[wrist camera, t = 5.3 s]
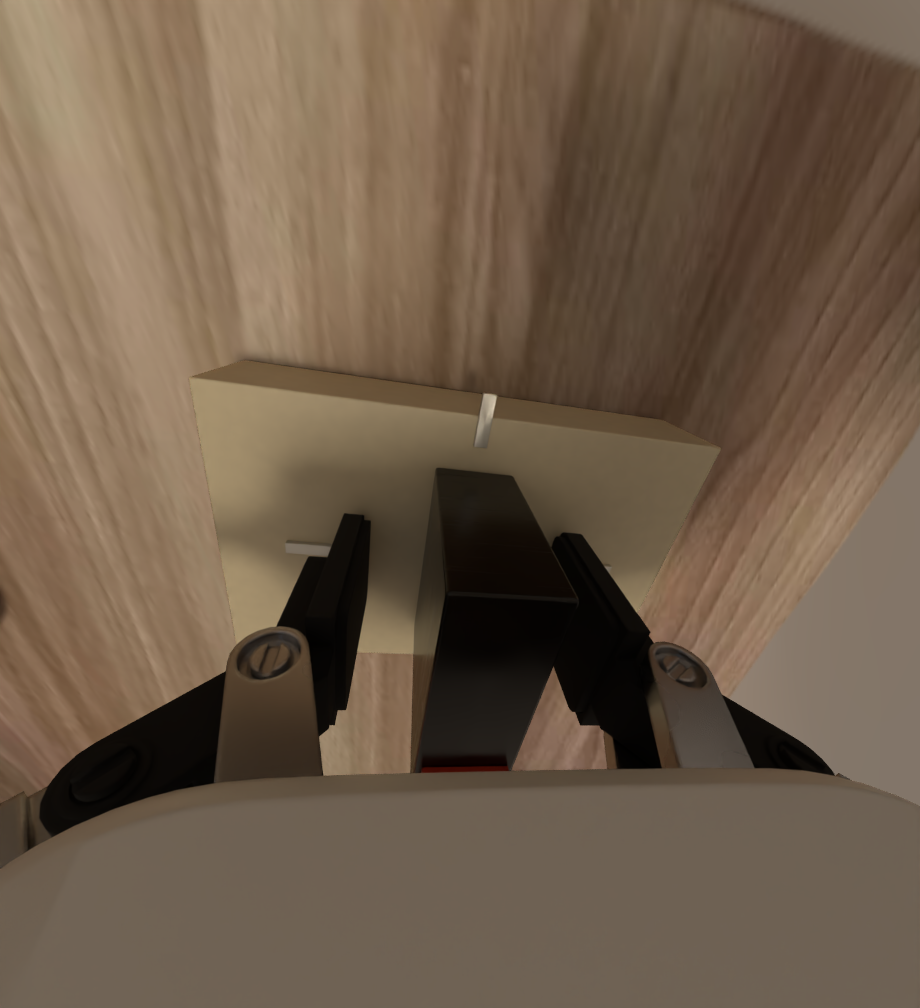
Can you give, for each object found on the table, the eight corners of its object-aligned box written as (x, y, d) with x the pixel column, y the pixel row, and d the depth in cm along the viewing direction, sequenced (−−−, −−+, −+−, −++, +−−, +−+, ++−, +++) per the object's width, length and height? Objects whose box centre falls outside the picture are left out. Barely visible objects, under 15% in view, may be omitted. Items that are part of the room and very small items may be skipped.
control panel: (669, 402, 13) (737, 429, 10) (580, 616, 18) (610, 674, 15) (240, 338, 11) (177, 348, 8) (269, 600, 15) (236, 665, 13)
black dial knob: (435, 465, 10) (446, 604, 5) (513, 474, 10) (588, 612, 6) (413, 626, 13) (409, 808, 8) (476, 628, 13) (505, 805, 8)
